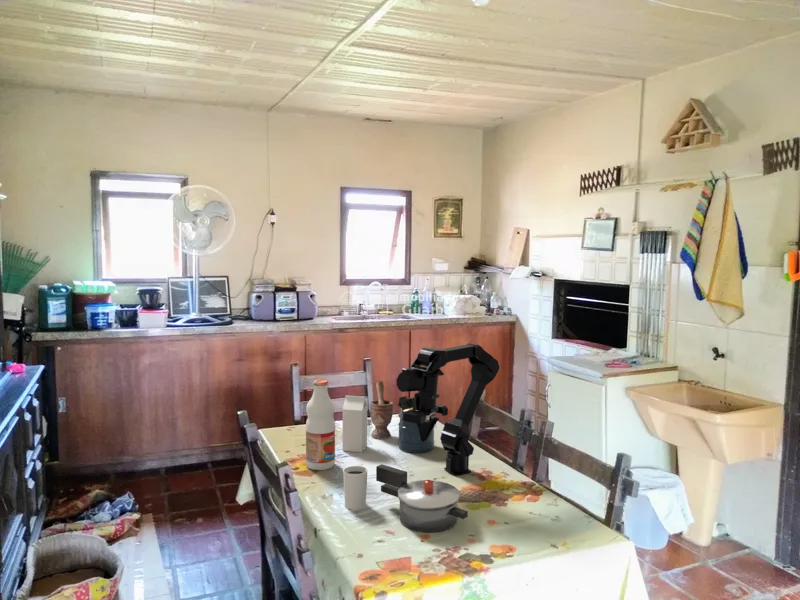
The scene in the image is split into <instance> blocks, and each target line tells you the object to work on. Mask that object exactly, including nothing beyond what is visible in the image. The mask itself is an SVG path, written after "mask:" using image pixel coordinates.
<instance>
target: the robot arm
mask: <svg viewBox="0 0 800 600" xmlns="http://www.w3.org/2000/svg"><path fill="white" fill-rule="evenodd" d="M466 359H468V360H467V361H468V363H469V364H470V365H471V369H470V373H471V375H470V376H471V381H470V383H469V385H468V388H467V389H466V392H465V394H464V396H463V399H462V401H461V404H460V406H459V408H458V410H457V412H456V414H455V417H454V419H453V420H451V422H449V421H446V422H445V423H444V426H443V428H442V430H441V431H440V434H441V435H440V439H439V440H440V441H441V445H442V448H443V450H444V451H446V452H447V453H446V458H445V460H446V461H445V467H444V471H446V472H448V473H449V474H452V475H453V476H460V475H464V474H469V473H472V470H471V469H470V468H469V466H470V465H469V464H470V463H469V461H470V456H471V455H473V454H474V450H475V449H474V446H473V445H472V444H471V443H470V441H469V439H470V435H471V434H470V424H471V421H472V419H473V416H474V414H475V412H476V409H477V407H478V404H479V402H480V400H481V397H482V395H483V393H484V391H485V388H486V386H487V385H488V384H490V383H491V382H492V381H494V380H495V378H496V377H497V374H498V372H499V369H500V364H499V361H498V360H497V359H496V358H494V357H493V356H492V355H491V354H490V353H488V352H487V351H486V350H484V348H483V347H482V346H481V345H480V344H475V343H467V344H463V345H455V346H451V347H446V348H445V347H444V348H435V347H423V348H421V349H419V352H418V353H417V355H416V356H415V358H414V360H413V362H412V363H411V365H410V366H409V368H404V367H403V368H402V370H401V372H400V373H399V374H398V376H397V378H396V387H397V389H398V390H399V391H400V392H402V393H406V392H407V393H408V392H415V393H414V396H413V397H409V398H408V397H407V395H405V396H400V397H398V403H397V406H398V408H400V410H401V409H402V410H401V412H402V411H403V410H405V409H410V408H412V410H408V411H405V412H404V413H403V415H402V420H403V421H407V422H412V423H416V424H417V426H418V429H419V434H420V438H421V441H422V442H425V441H426V440H427V438H428V437H429V435H430V433H431V431H432V429H433V428H434V429H435V426H436V425H437V422H438V421H439V420H440V418H439V417H436V415H435V414H441V416H443V417H445V416H448V411H449V409H448V407H447V405H443V404H441V403H440V404H438V403H437V398H440V393H438V385H439V376H445V373H444V372H443V371H442V369H441V368H444V367H446V365H447V364H449V363H452V362H455V361H460V360H461V361H462V360H466ZM416 410H418V411H416Z"/></svg>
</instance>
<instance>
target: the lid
mask: <svg viewBox="0 0 800 600" xmlns="http://www.w3.org/2000/svg"><path fill="white" fill-rule="evenodd" d="M375 470H376V471H375V472H376V475H375V477H376V478H375V479H376V480H375V481H376V482H379V483H382V484H388V485H391V486H394V487H397V488H399V490H398V497H397V498H398V500H399V502H400V501H401V502H402V503H404V504H405V505H407V506H410V507H413V508H418V509H426V510H435V509H443V508H447V507H450V506H453V505H455V504H456V503H457V504H458V502H459V501H460V491H459V488H457V487H455V486H454V485H452V484H450V483H448V482H442V481H439V480H431V479H425V480H415V481H410V482H408V471H406V470H403V469H399V468H396V467H392V466H390V465H386V464H379V465H377V466H376V469H375Z"/></svg>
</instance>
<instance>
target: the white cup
mask: <svg viewBox="0 0 800 600" xmlns="http://www.w3.org/2000/svg"><path fill="white" fill-rule="evenodd" d="M342 473H343V493H344V494H343V495H344V507H345V508H346V509H347V510H352V511H353V510H354V511H356V510H357V511H358V510H362V509H364V508H365V507H366V506H367V505H366V504H367V490H368V489H367V487H368V468H367V467H365V466H361V465H350V466H346V467H345V468H343V469H342Z"/></svg>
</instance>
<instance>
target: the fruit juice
mask: <svg viewBox="0 0 800 600" xmlns="http://www.w3.org/2000/svg"><path fill="white" fill-rule="evenodd" d="M312 387H313V392H312V395H311V398H310V399H309V401H308V402H307V404H306V409H305V411H306V414H307V419H306V422H305V463H306V464H305V465H306V468H308V469H309V470H313V471H324V470H328V469H332V468H333V467H334V466H335V462H336V421H335V418H334V413H335V409H336V408H335V403H334V402H333V401H332V399H331V398H330V395H329V392H328V387H329V381H328V380H326V379H315V380H313V381H312Z"/></svg>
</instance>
